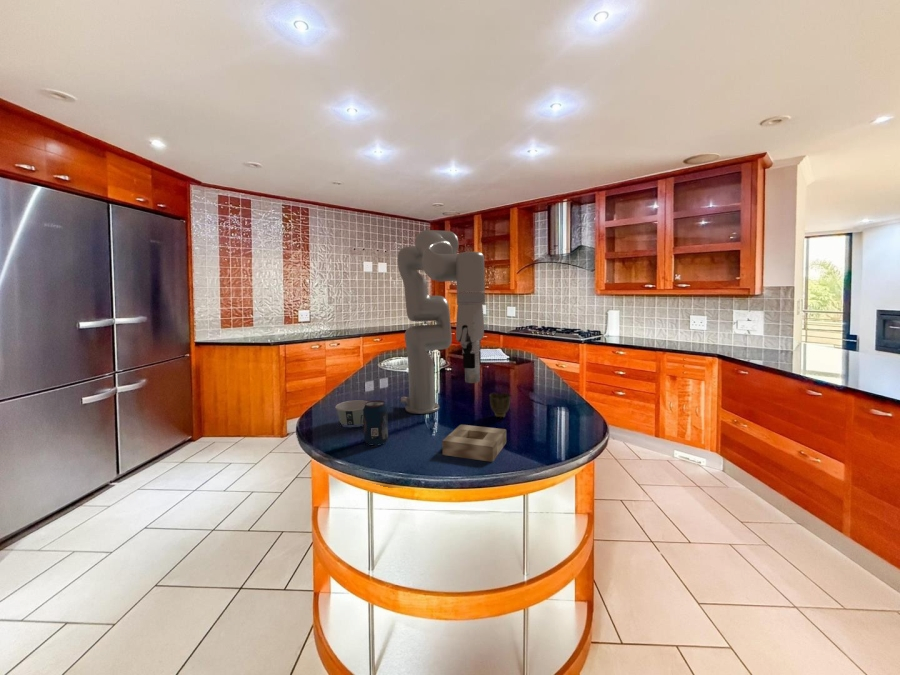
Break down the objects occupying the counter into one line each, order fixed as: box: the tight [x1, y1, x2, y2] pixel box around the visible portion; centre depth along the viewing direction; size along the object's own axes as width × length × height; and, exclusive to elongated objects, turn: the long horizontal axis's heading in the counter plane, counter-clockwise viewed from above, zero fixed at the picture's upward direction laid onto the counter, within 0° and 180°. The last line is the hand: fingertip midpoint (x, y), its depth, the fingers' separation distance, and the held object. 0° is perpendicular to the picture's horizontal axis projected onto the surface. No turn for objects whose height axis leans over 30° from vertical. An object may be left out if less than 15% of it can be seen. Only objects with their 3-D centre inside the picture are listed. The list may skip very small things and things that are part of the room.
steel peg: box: [464, 339, 481, 384], centre depth 110 cm, size 4×4×14 cm
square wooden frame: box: [441, 424, 507, 463], centre depth 113 cm, size 14×14×4 cm
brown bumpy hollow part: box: [488, 392, 511, 419], centre depth 141 cm, size 8×7×8 cm
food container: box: [334, 399, 369, 425], centre depth 138 cm, size 12×12×6 cm
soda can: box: [363, 400, 389, 445], centre depth 119 cm, size 7×7×12 cm
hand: (472, 365), depth 111 cm, fingers closed on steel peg, 4 cm apart
